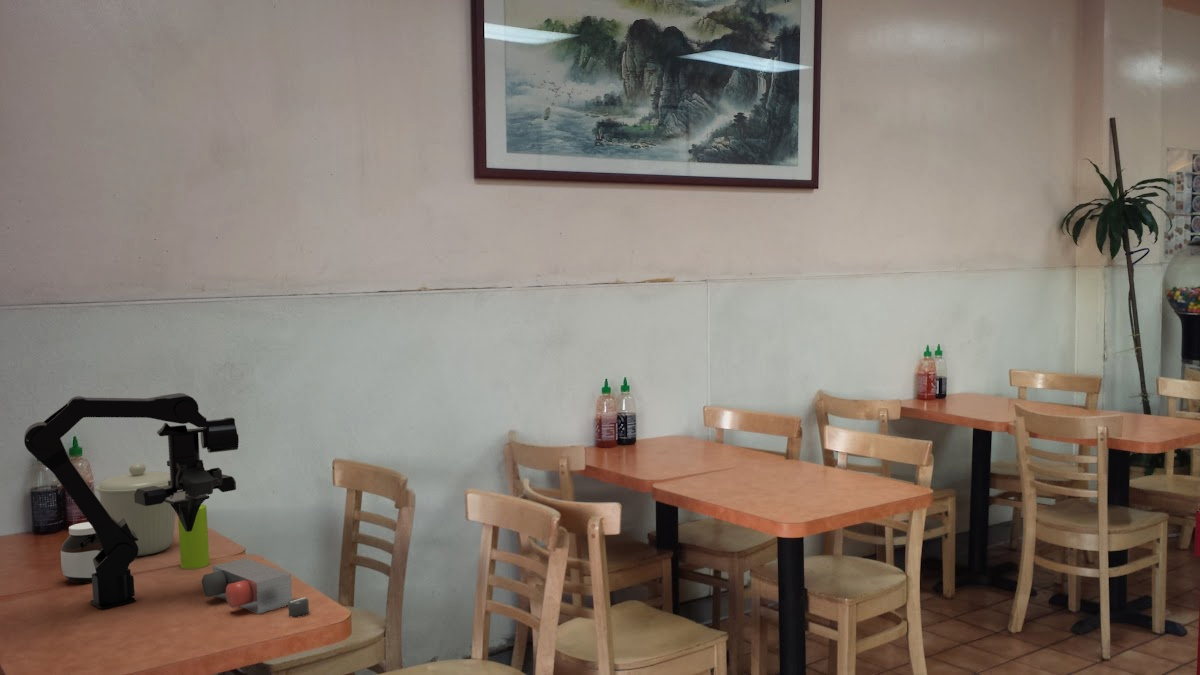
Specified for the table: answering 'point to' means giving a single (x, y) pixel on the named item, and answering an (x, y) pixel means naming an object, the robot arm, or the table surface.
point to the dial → (298, 607)
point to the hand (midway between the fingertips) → (188, 531)
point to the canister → (140, 508)
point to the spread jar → (80, 553)
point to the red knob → (239, 593)
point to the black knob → (214, 584)
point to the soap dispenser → (195, 542)
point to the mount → (258, 584)
